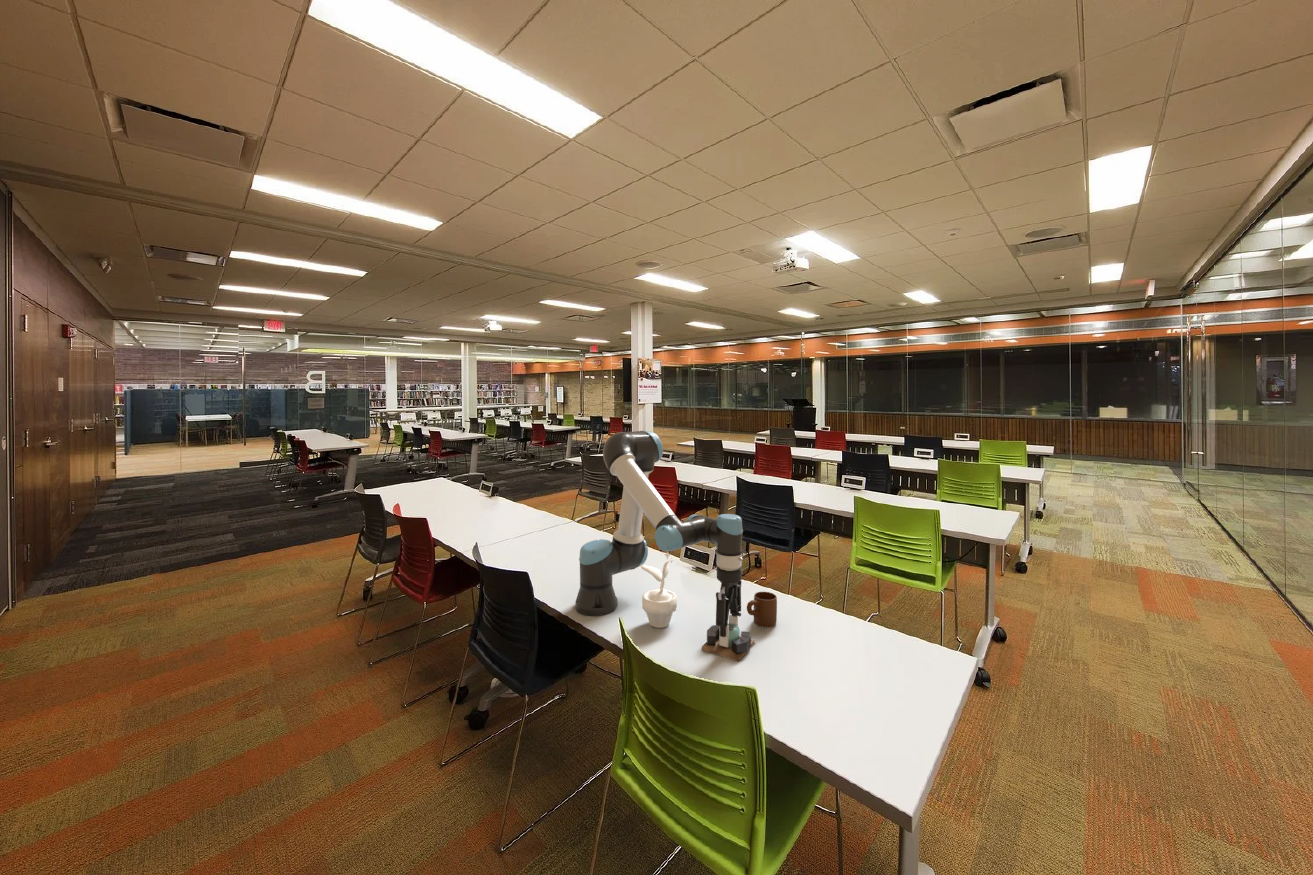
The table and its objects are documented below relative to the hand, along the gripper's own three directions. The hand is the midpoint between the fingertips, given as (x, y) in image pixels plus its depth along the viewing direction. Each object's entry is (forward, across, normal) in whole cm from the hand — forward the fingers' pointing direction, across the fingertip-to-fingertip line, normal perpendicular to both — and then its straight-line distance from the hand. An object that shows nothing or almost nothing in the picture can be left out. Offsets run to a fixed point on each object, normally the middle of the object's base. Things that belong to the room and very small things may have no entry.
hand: (728, 640), depth 143 cm
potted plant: (+2, +1, +26) cm, 26 cm away
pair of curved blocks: (+2, 0, 0) cm, 2 cm away
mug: (+2, +19, -3) cm, 19 cm away
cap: (0, 0, 0) cm, 0 cm away
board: (+2, 0, 0) cm, 2 cm away
